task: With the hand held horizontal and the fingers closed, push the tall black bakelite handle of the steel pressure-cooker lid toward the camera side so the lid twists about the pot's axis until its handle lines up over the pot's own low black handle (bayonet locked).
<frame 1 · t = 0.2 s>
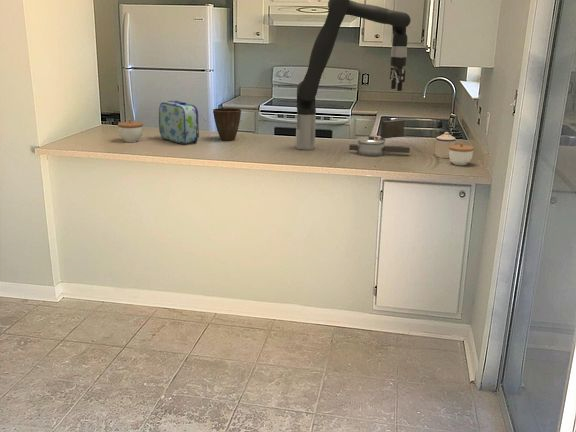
hand: (396, 89, 292), 29 cm above the countertop, tool pointing down, fingers open, 8 cm apart
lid: (381, 131, 287), point 11 cm above the countertop, hinge at 40.0°
lunch box: (179, 141, 310), on the countertop
lidded jar: (459, 164, 269), on the countertop
beige canister: (444, 156, 285), on the countertop
pot: (370, 153, 287), on the countertop
plant pot: (227, 140, 316), on the countertop
lidded bowl: (131, 141, 308), on the countertop
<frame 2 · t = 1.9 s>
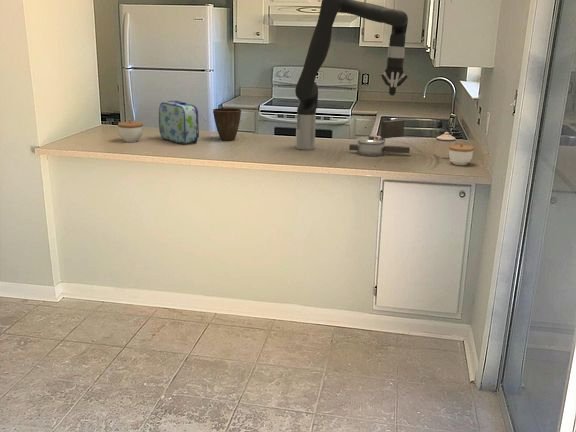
hand: (391, 95, 275), 28 cm above the countertop, tool pointing down, fingers closed
nothing on the countertop moved.
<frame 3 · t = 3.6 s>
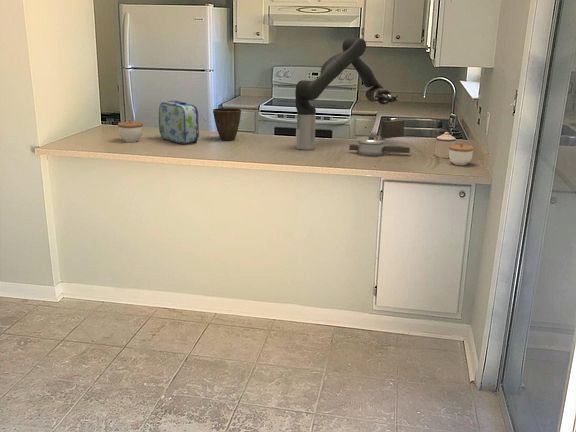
hand: (390, 100, 297), 24 cm above the countertop, tool horizontal, fingers closed
nothing on the countertop moved.
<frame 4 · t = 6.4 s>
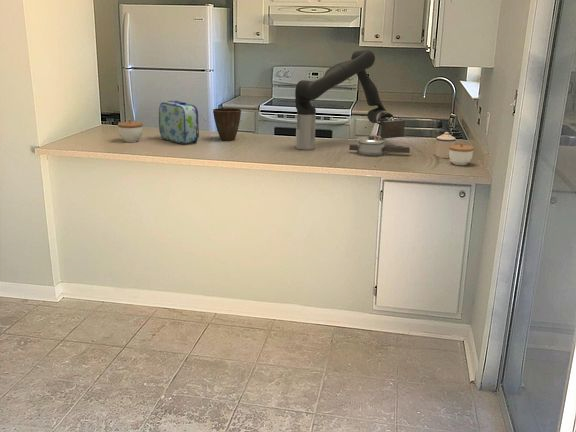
hand: (394, 124, 292), 13 cm above the countertop, tool horizontal, fingers closed
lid: (381, 131, 287), point 11 cm above the countertop, hinge at 39.2°, touching gripper
everything else where it was.
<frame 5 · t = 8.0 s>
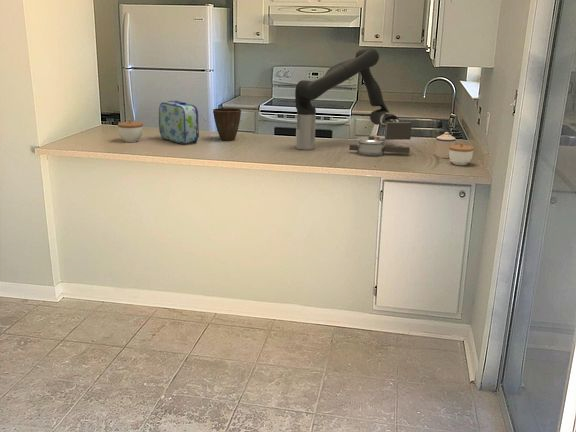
hand: (399, 126, 286), 13 cm above the countertop, tool horizontal, fingers closed
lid: (384, 131, 284), point 11 cm above the countertop, hinge at 15.6°, touching gripper
everything else where it was.
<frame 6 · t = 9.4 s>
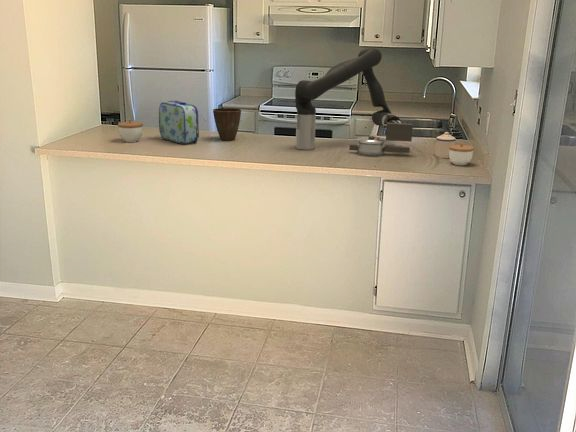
hand: (401, 127, 282), 13 cm above the countertop, tool horizontal, fingers closed
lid: (384, 132, 283), point 11 cm above the countertop, hinge at -0.1°, touching gripper
everything else where it was.
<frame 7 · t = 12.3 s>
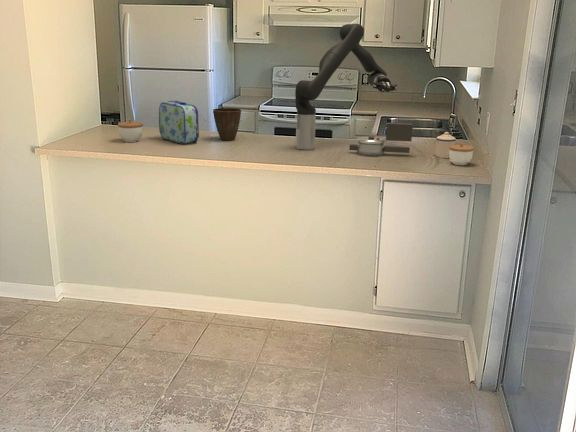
hand: (388, 89, 292), 29 cm above the countertop, tool horizontal, fingers closed
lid: (384, 132, 283), point 11 cm above the countertop, hinge at -0.1°
everything else where it was.
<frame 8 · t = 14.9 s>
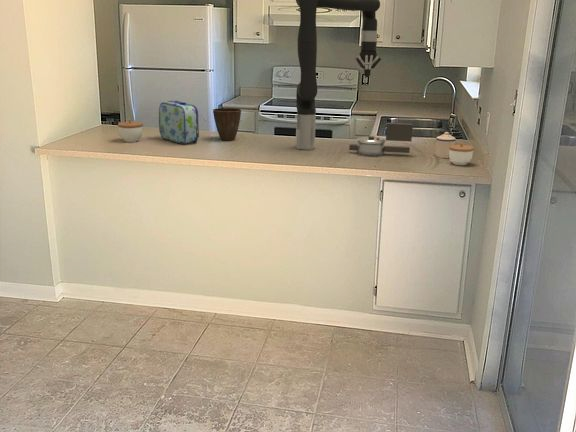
hand: (367, 77, 291), 35 cm above the countertop, tool pointing down, fingers closed
nothing on the countertop moved.
at the end: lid at +0° (first picture: +40°); the gripper is holding nothing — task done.
